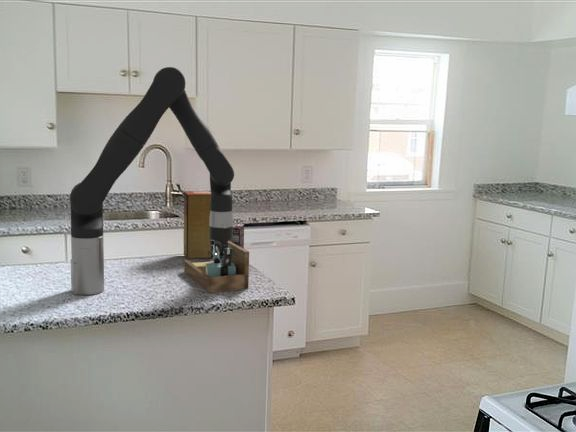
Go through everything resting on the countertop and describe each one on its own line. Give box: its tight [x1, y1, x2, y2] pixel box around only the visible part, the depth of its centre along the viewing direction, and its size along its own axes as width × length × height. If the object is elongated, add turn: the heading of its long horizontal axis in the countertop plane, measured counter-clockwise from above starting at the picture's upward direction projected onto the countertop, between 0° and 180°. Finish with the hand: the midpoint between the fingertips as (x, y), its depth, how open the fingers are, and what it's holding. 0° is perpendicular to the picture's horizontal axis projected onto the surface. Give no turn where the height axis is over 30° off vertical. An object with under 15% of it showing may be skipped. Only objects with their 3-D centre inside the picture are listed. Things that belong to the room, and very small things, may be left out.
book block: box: [206, 263, 236, 277], centre depth 189 cm, size 9×6×4 cm, turn 104°
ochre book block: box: [191, 261, 214, 274], centre depth 203 cm, size 9×6×4 cm, turn 103°
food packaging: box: [183, 190, 212, 260], centre depth 226 cm, size 13×9×25 cm
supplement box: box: [229, 223, 245, 249], centre depth 209 cm, size 9×5×16 cm, turn 174°
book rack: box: [183, 241, 250, 293], centre depth 194 cm, size 13×26×12 cm, turn 27°
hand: (220, 274), depth 189 cm, fingers closed on book block, 6 cm apart
